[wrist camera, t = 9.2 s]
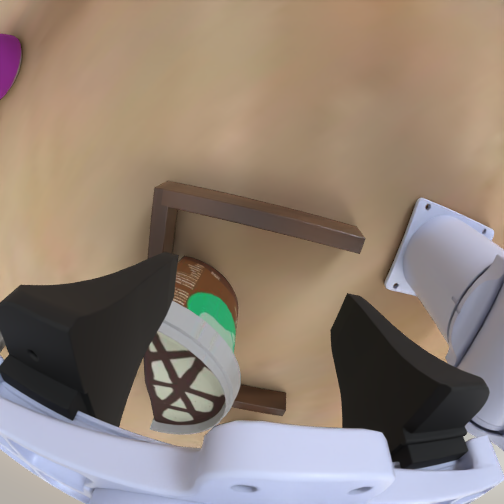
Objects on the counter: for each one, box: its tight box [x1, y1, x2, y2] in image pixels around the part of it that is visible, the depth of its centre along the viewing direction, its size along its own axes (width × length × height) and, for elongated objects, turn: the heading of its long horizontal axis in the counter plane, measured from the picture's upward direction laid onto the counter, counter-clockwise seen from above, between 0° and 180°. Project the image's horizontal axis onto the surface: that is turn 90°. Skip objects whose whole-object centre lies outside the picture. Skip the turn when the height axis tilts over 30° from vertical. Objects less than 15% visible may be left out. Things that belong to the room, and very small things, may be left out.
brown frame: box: [148, 181, 365, 416], centre depth 24 cm, size 15×20×2 cm
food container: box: [144, 256, 241, 434], centre depth 20 cm, size 12×6×10 cm, turn 172°
